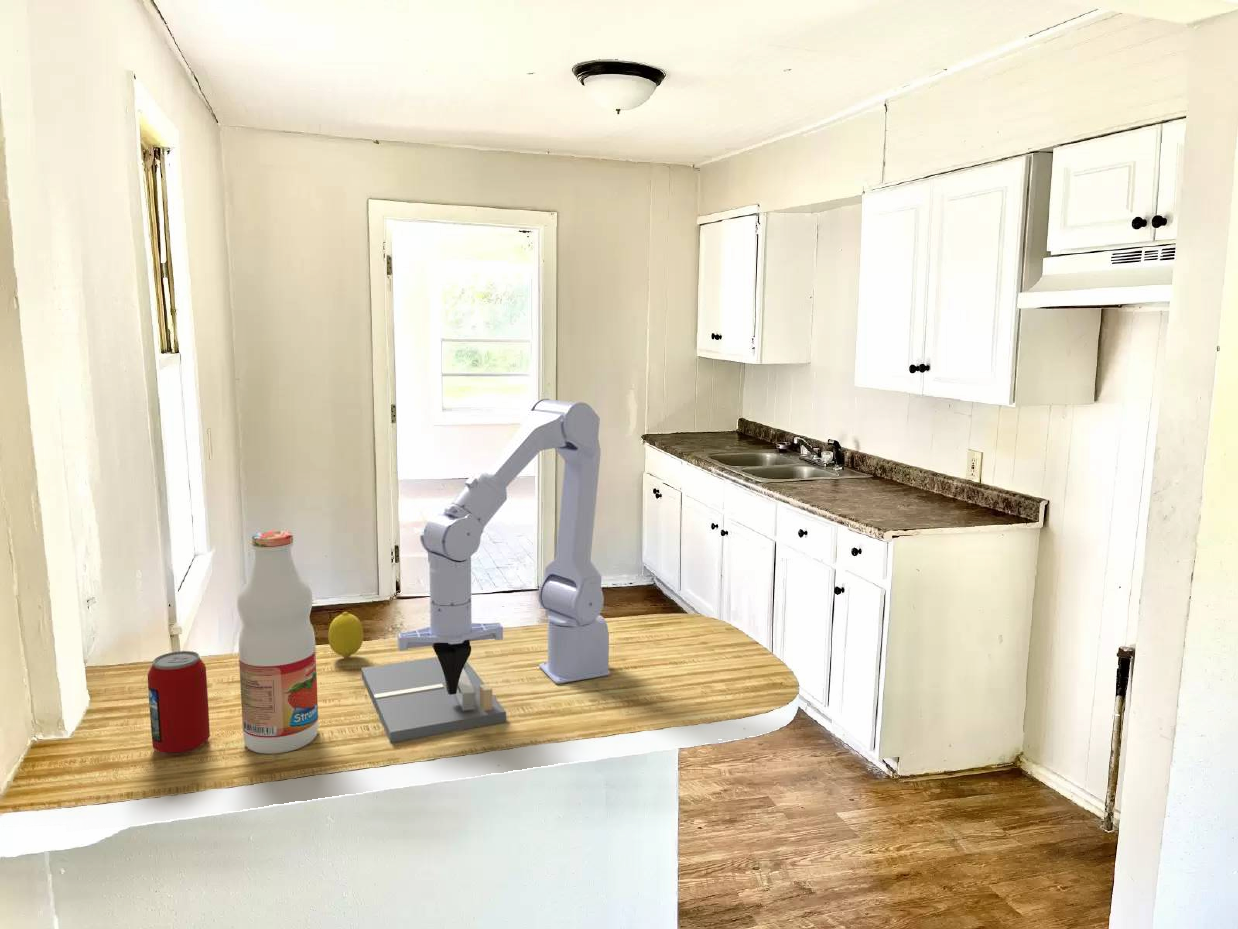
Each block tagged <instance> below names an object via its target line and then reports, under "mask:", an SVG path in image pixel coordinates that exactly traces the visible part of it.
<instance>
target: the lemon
mask: <svg viewBox="0 0 1238 929" xmlns="http://www.w3.org/2000/svg"><path fill="white" fill-rule="evenodd" d="M327 634H328V637H327V638H328V644H329V647H330V648H331V650H332V651H333V652H334V653H335V654H336V655H338V656H341V657H343V658H344V659H349V658H350V657H351V656H352V655H354V654H355V653H357V652H358V651H359V650H360V648H361V647H362V645H363V642H364V630H363V625H362V623H361V621H360V619H359V618H358V617H357V616H355V615H353V614H351V613H348V611H343V612H342V614H339V615H337V616H336V617H334V619H333V620H332V622H330V625H329V628H328V633H327Z"/></svg>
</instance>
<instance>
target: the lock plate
mask: <svg viewBox="0 0 1238 929" xmlns="http://www.w3.org/2000/svg"><path fill="white" fill-rule="evenodd" d="M360 669H361V679H362V681H363V684H364V685H365V686H364V687H365V688H366V690H367V693H368V694H369V697H370V699H372V700H371V702H372V703H373V704H372V705H373V706H374V708H376V709H375V711H376V714H377V715H379V716H378V718H379V720H380V723H381V725H382V726H383V729H384V731H386V732H385V733H386V736H387V739H388V741H389V740H390V741H389V743H390V744H392V743H398V741H399V742H402V741H408V740H409V741H410V740H414V739H419V738H420V739H421V738H426V737H431V736H436V735H442V734H447V733H451V732H452V733H453V732H458V731H464V730H468V729H474V728H479V727H485V726H490V725H496V724H501V723H506V722H507V711H506V710H505V708H504V707H503V706H502V704H501V703H500V702H499V700H498V699H497V698H496V697H495V695H494V694H493V688H492V687H491V685H490V683H485V682H484V681H483V680H482V678H481V677H480V676H479V675H478V673H477V672H476V671H475V669H473V667H472V666H471V664H470V663H469V661H468V660H467V661H466V663H465V672H466V674H467V676H468V678H469V680H470V682H471V684H472V686H473V689H474V691H475V709H472V710H464V711H462V708H461V706H460V704H459V701H458V699H457V697H456V695H455V694H452V695H449V694H448V691H447V687H446V681H445V677H444V673H443V670H442V667H441V664H440V662H439V659H438V657H437V656H434V657H428V658H420V659H413V660H408V661H399V662H393V663H386V664H380V665H379V664H378V665H372V666H365V667H361V668H360Z"/></svg>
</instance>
